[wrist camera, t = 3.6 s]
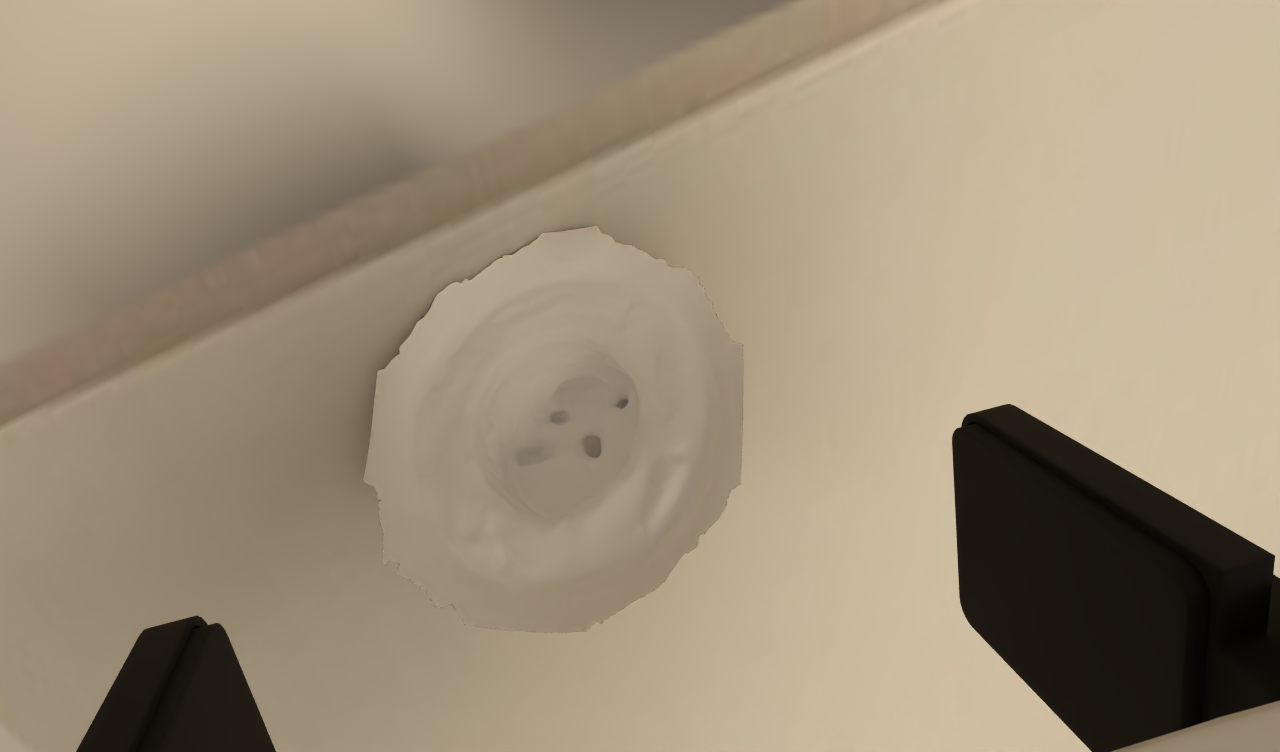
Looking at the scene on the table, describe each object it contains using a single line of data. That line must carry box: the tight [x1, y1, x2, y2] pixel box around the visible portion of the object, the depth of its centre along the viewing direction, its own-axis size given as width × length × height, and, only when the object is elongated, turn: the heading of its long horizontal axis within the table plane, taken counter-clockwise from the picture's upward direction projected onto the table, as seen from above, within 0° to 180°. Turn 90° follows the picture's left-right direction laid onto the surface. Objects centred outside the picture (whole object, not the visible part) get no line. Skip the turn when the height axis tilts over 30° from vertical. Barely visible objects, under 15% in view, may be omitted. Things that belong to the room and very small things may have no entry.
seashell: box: [363, 226, 743, 632], centre depth 18 cm, size 8×5×8 cm
